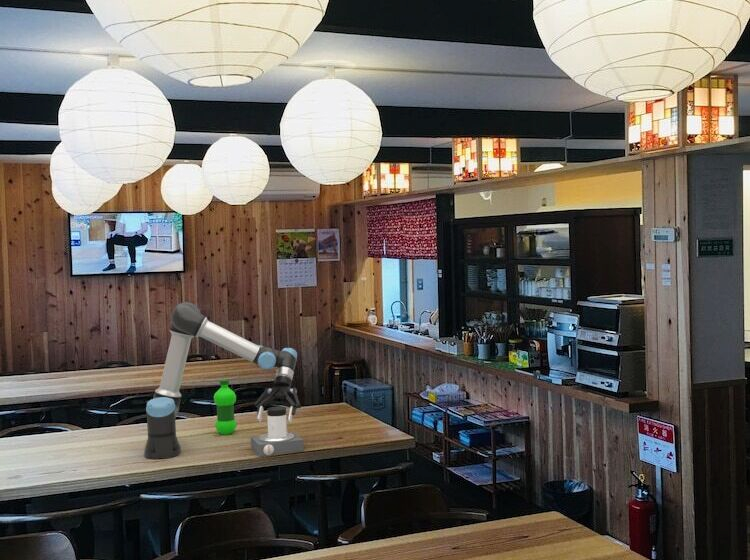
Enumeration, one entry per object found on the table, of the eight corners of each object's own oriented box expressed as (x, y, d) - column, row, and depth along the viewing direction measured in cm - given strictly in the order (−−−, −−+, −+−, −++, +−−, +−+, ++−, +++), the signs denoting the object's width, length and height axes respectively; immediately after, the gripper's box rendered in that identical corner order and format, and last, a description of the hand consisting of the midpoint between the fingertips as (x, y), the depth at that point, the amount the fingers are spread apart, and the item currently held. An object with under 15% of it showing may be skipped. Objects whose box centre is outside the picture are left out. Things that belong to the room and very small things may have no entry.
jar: (263, 437, 346) (262, 409, 346) (274, 433, 354) (273, 405, 353) (280, 439, 342) (279, 411, 342) (291, 434, 349) (290, 407, 349)
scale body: (259, 457, 337) (259, 445, 337) (251, 448, 352) (250, 436, 352) (303, 451, 344) (303, 439, 343) (293, 442, 359) (293, 431, 359)
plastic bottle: (225, 436, 374) (223, 382, 373) (210, 434, 381) (208, 381, 379) (241, 432, 382) (240, 379, 381) (226, 429, 389) (224, 377, 387)
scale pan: (263, 444, 338) (263, 442, 338) (255, 436, 352) (255, 434, 352) (298, 439, 344) (298, 438, 344) (289, 432, 358) (288, 430, 358)
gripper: (312, 384, 360) (304, 426, 346) (258, 384, 364) (248, 425, 350) (309, 374, 354) (300, 416, 340) (254, 374, 359) (243, 415, 345)
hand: (274, 420), depth 345 cm, fingers open, 13 cm apart
